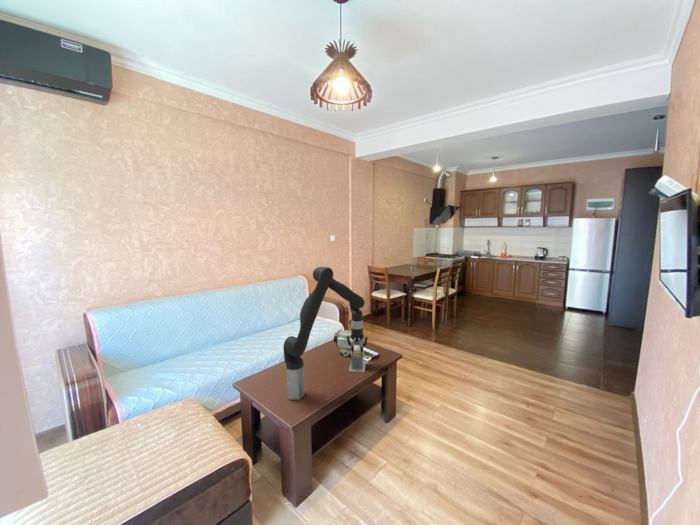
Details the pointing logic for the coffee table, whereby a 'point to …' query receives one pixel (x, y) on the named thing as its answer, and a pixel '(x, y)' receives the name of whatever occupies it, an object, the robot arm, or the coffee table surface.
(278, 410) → the coffee table surface
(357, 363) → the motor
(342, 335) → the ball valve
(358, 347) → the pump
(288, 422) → the coffee table surface
